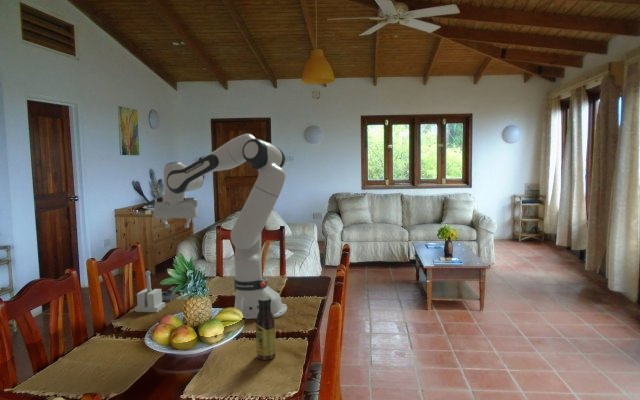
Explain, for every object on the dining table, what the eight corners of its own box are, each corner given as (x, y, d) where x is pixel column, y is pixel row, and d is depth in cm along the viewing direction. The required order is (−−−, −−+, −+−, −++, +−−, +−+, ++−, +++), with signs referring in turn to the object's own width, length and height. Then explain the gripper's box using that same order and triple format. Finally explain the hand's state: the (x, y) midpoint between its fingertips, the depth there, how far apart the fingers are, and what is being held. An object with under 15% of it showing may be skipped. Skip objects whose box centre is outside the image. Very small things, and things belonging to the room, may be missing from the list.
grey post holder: (165, 306, 200) (162, 268, 198) (157, 312, 193) (154, 273, 191) (144, 306, 201) (141, 268, 199) (135, 311, 194) (132, 272, 192)
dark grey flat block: (182, 292, 219) (182, 286, 219) (170, 301, 206) (169, 295, 206) (167, 292, 220) (166, 286, 220) (153, 301, 207) (153, 295, 207)
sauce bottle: (255, 354, 149) (252, 296, 147) (273, 351, 152) (270, 293, 149) (259, 362, 143) (256, 302, 141) (278, 359, 146) (276, 299, 143)
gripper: (199, 196, 208) (201, 226, 210) (157, 197, 211) (160, 226, 213) (193, 198, 202) (195, 228, 204) (151, 198, 205) (153, 228, 207)
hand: (177, 227), depth 208 cm, fingers open, 8 cm apart
